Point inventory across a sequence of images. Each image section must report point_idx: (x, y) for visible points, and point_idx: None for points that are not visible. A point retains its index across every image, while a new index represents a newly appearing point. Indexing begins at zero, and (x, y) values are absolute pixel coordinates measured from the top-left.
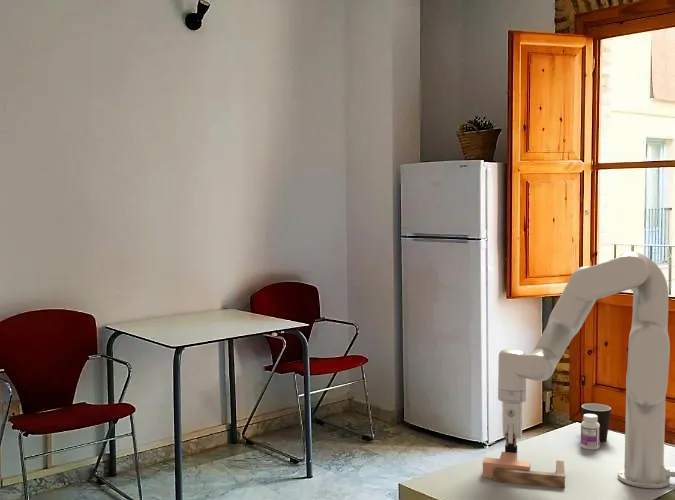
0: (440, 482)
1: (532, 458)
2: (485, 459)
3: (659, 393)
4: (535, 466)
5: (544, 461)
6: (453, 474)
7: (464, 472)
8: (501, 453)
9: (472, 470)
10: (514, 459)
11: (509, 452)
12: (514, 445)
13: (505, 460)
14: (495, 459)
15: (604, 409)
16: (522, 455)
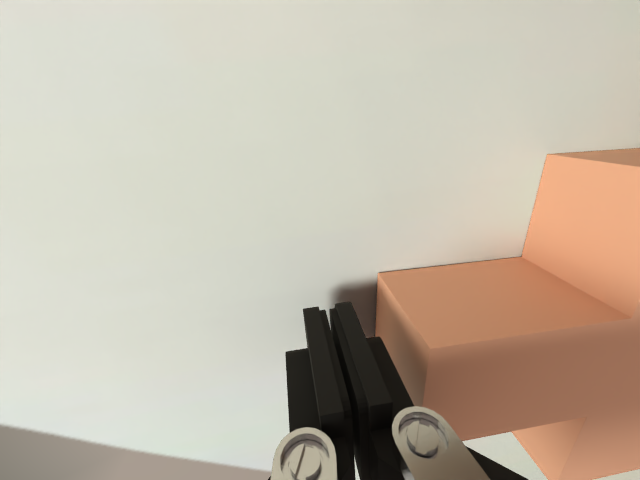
0: (613, 475)
1: (85, 192)
2: (595, 472)
3: None
4: (304, 139)
5: (107, 59)
6: (530, 473)
7: (503, 454)
8: (463, 439)
9: (473, 439)
10: (611, 325)
11: (425, 401)
12: (451, 444)
13: (630, 376)
14: (602, 432)
15: None
16: (56, 284)
